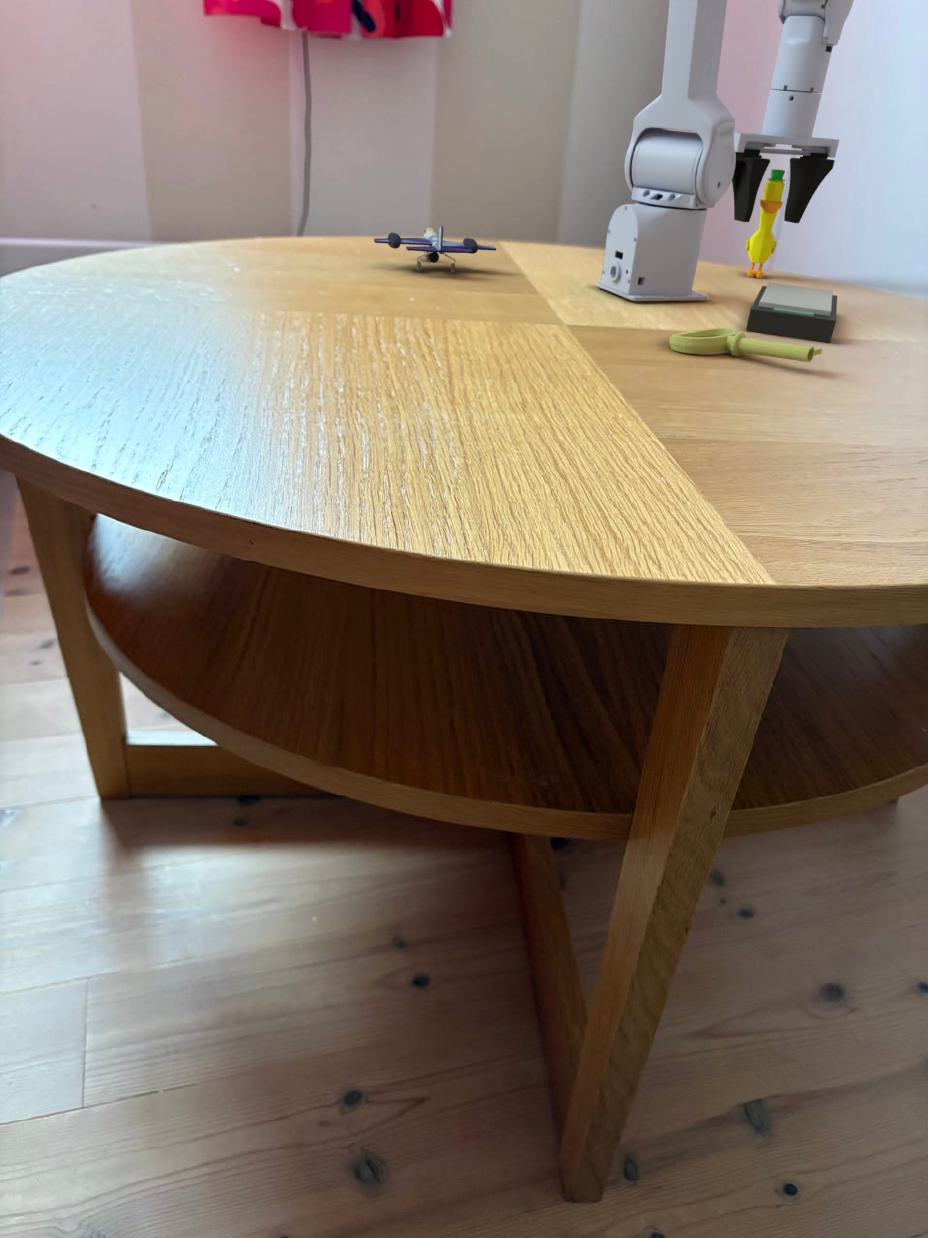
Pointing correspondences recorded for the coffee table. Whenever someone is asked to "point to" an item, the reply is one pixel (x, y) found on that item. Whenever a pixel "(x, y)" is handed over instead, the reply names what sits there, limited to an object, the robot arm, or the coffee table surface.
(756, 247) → the toy figure
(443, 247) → the toy airplane
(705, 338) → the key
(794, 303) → the scale
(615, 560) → the coffee table surface
